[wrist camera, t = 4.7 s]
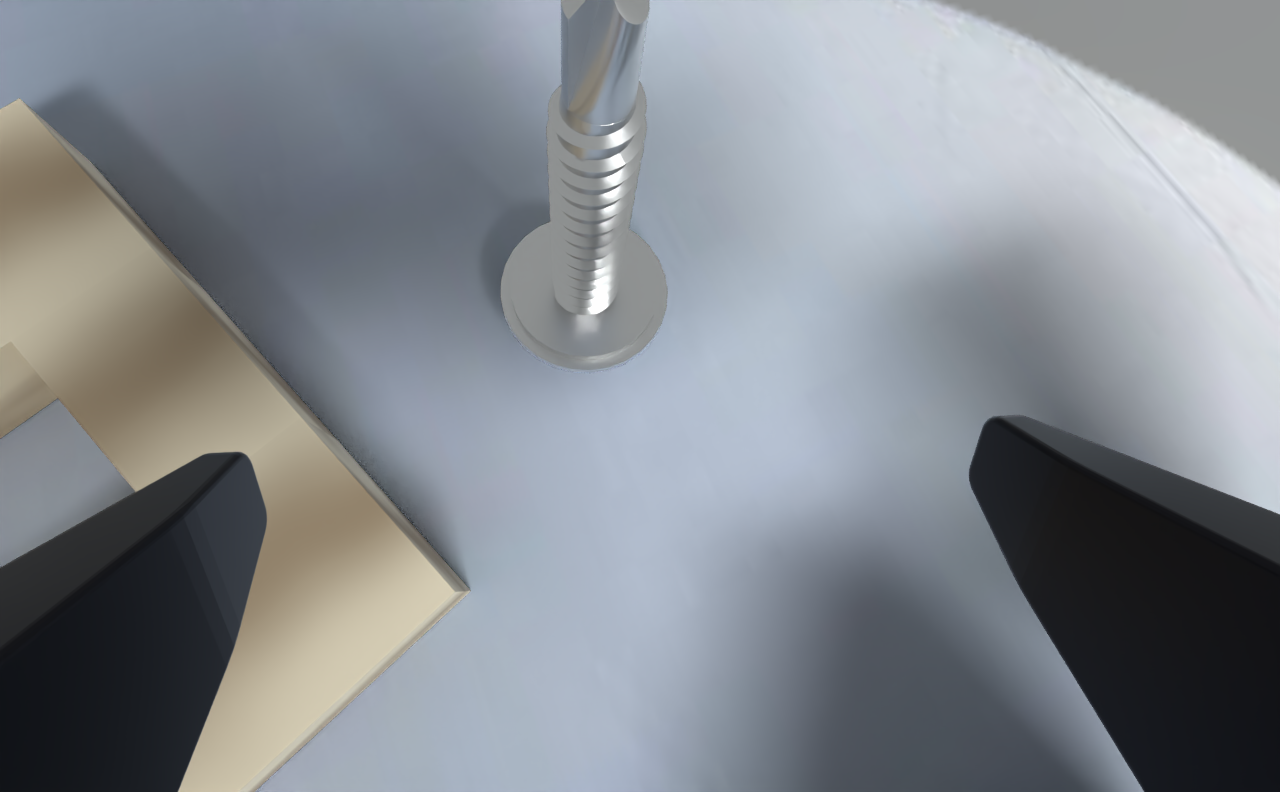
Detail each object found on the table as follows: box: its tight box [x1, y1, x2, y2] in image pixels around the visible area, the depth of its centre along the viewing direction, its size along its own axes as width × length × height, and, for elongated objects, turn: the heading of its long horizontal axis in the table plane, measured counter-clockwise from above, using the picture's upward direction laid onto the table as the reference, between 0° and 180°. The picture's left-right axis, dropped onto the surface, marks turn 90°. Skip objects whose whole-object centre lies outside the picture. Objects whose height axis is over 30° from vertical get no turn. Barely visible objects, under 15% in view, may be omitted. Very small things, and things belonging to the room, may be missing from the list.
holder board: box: [0, 98, 471, 792], centre depth 18 cm, size 18×14×3 cm
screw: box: [501, 0, 668, 373], centre depth 16 cm, size 13×5×5 cm
